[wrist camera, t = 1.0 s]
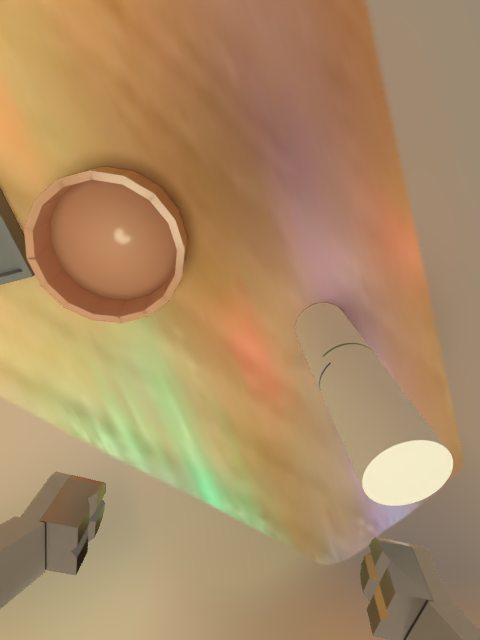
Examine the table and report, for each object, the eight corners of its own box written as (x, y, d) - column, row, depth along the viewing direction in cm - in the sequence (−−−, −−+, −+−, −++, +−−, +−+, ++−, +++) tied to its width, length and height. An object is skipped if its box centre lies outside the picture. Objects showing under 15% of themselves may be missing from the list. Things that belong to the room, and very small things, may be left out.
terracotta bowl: (20, 188, 40) (-6, 195, 36) (161, 151, 40) (154, 153, 35) (81, 315, 48) (67, 336, 43) (202, 285, 47) (201, 303, 42)
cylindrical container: (285, 337, 51) (344, 492, 29) (312, 294, 49) (400, 428, 27) (327, 355, 53) (413, 514, 31) (355, 315, 51) (472, 456, 28)
